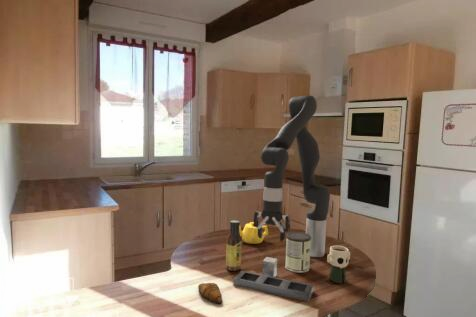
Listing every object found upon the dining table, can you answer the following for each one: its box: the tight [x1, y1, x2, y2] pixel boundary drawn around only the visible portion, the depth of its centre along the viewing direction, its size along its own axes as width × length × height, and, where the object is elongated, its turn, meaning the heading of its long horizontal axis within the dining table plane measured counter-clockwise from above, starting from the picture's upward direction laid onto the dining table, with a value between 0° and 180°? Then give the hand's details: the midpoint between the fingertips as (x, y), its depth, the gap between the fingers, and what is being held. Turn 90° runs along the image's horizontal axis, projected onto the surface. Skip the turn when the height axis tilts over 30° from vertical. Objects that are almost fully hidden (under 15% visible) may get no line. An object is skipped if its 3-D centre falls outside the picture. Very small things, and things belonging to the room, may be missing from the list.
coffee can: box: [284, 231, 311, 274], centre depth 142 cm, size 10×10×14 cm
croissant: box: [197, 282, 223, 305], centre depth 115 cm, size 14×7×5 cm, turn 37°
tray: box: [232, 270, 314, 302], centre depth 122 cm, size 8×28×2 cm, turn 68°
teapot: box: [239, 221, 269, 245], centre depth 174 cm, size 14×13×10 cm
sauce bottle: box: [225, 219, 243, 272], centre depth 138 cm, size 7×6×20 cm
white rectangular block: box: [261, 256, 278, 278], centre depth 132 cm, size 4×4×7 cm
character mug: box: [326, 245, 351, 284], centre depth 130 cm, size 11×7×13 cm, turn 113°
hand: (270, 239), depth 131 cm, fingers open, 8 cm apart
